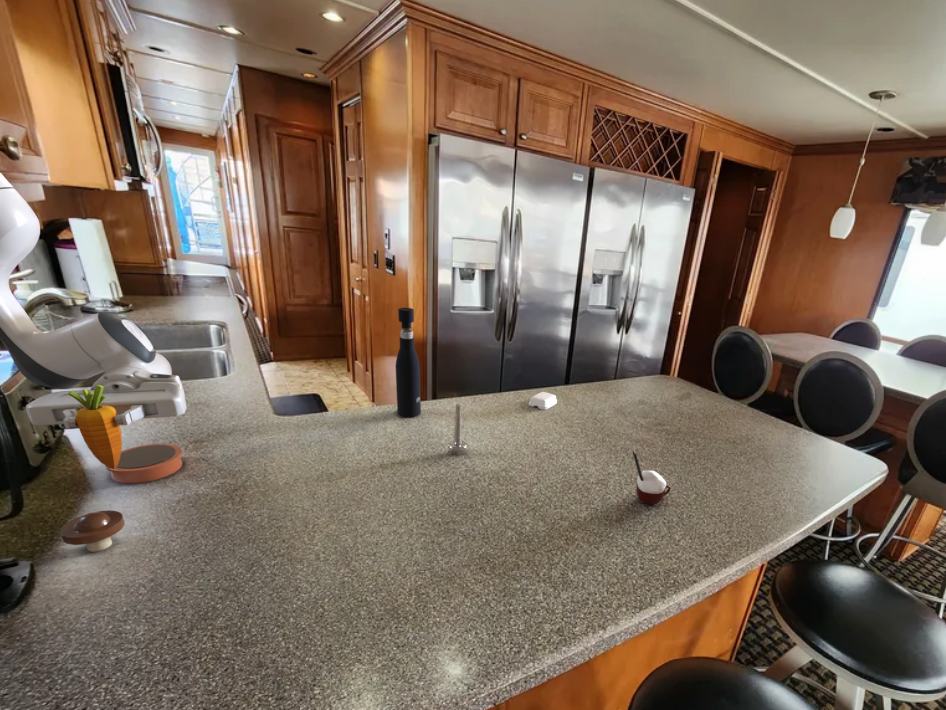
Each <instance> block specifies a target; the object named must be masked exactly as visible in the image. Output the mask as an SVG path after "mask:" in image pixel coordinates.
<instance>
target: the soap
mask: <svg viewBox="0 0 946 710" xmlns="http://www.w3.org/2000/svg"><path fill="white" fill-rule="evenodd" d="M557 403H558V399H557V396H556V395H555V394H553V393H550V392H546V391H540V392H538V393H537V394H535V395H533V396H531V397H530V398H529V402H528V406H529V407H537V408H538V409H540V410H548V409H550V408H552V407H553V406H555V405H556V404H557Z"/></svg>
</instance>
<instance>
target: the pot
mask: <svg viewBox="0 0 946 710" xmlns="http://www.w3.org/2000/svg"><path fill="white" fill-rule="evenodd" d="M182 456H183V449H182V448H181V447H180V446H179V445H176V444H171V443H150V444H149V443H148V444H143V445H137V446H133V447H129V448H126V449H124V450H121V456H120V460H119V463H118V465H117V467H116V468H115V469H111V468H108V467H107V466H105V465H104V466H105V469H106V470H107V471H109V473H110V477H111V479H112V481H114V482H117V483H121V484H141V483H142V484H143V483H149V482H153V481H156V480H159V479H162V478H165V477H168V476H171V475H173V474H174V473H176V472H177V471H179V470H180V469H181V468H182V466H183V460H182Z"/></svg>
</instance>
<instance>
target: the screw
mask: <svg viewBox="0 0 946 710" xmlns="http://www.w3.org/2000/svg"><path fill="white" fill-rule="evenodd" d="M453 418H454V419H453V424H454V425H453V429H454V430H453V439H452V440H451V441H449V442H447V448H448V449H450V450H452V454H453V455H457V456H459V455H463V454H464V450H466V449H467V448H468V445H469V444H468V443H467V442H466V441H465V440H462V439H463V437H462V432H463V431H462V430H463V429H462V428H463V424H462V423H463V422H462V421H463V415H462V406H461V404H459V403H456V404H455V412H454V416H453Z"/></svg>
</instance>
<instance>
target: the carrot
mask: <svg viewBox="0 0 946 710" xmlns="http://www.w3.org/2000/svg"><path fill="white" fill-rule="evenodd" d="M103 389H104V387H103V386H101V385H97V386H96V388H95V391H94V392H92V391H89V392H88V391H87V390H88V389H87V388H83V389H81V390H82V393H83V395H84V397H85V399H86V401H85V400H84V399H83V398H82V397H81V396H80V395H79V394H77V393H76V392H73V391H74V390H69V391H70V392H69V393H68V394H69V395H70V396H72V397H73V398H75V399H76V400H77V401H79V402H80V403H81V404H82V405H84V406H85V408H82V409H80V410H79V411H78V412H77V414H76V422H77V424H78V427H79V428H78V430H79V432H80V434H81V437H82V439H83V441H84V443H85V445H86V446H87V448H88V449H89V451H90V452H91V453H92V455H93V456H94V458H95V459H97V460H98V461H99V462H100V463H101V464H102V465H104V466H107V467H108V468H111V469H115V468H116V467H117V465H118V463H119V460H120V456H121V451H123V445H122V444H123V443H122V442H123V439H122V429H121V426H117V425H116V421H115V419H114V416H115V415H116V414H117V413H116V410H115V409H114V407H111V406H106V405H100V404H101V403H102V402H103V400H104V399H105V398H106V397H107V396H105V395H104V396H101V395H102V392H103ZM93 394H94V395H93Z"/></svg>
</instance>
